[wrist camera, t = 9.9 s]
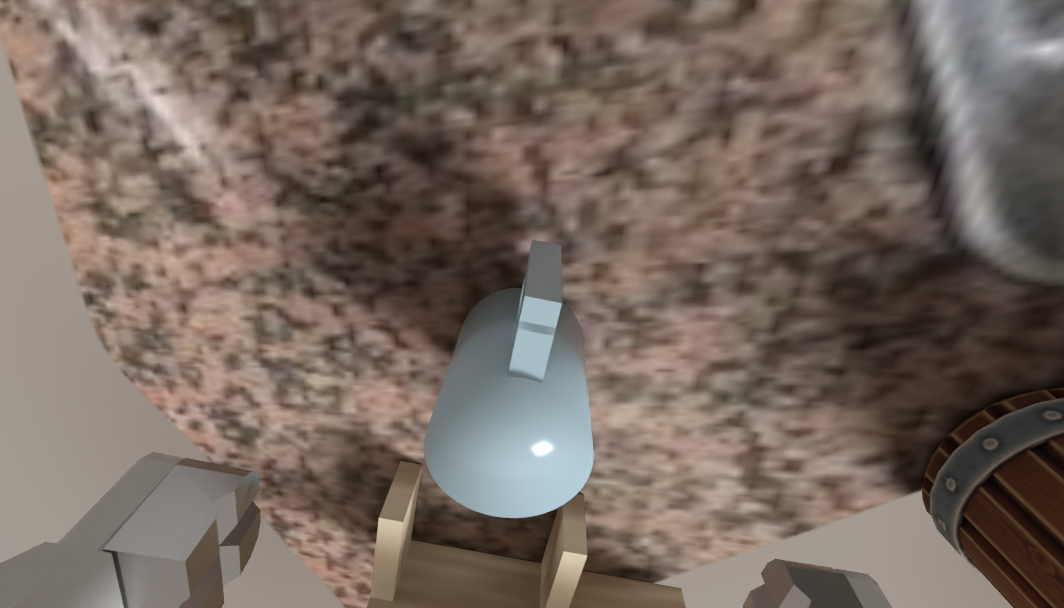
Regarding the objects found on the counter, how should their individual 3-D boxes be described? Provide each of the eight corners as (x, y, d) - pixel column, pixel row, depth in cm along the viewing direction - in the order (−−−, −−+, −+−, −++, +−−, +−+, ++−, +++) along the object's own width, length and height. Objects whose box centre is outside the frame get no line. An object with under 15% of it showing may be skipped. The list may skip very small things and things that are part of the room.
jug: (480, 213, 24) (446, 287, 16) (613, 241, 24) (638, 325, 17) (453, 382, 27) (415, 502, 20) (567, 404, 28) (571, 530, 20)
